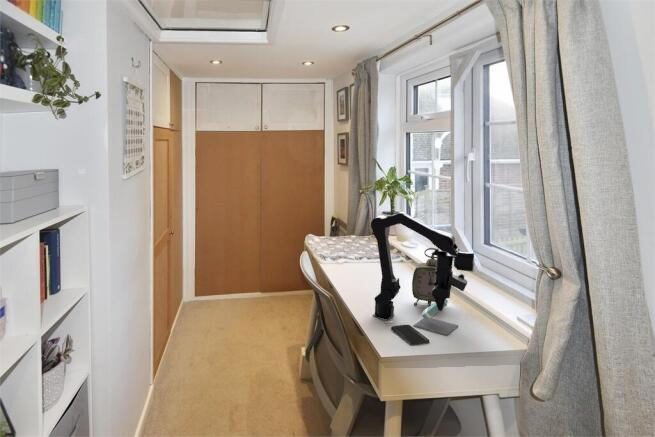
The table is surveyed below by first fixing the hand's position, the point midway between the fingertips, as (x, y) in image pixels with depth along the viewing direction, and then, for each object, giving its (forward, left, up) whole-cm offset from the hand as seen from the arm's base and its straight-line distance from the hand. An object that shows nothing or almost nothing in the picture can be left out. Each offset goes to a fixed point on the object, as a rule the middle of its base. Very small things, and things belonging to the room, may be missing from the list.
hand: (440, 308), depth 169 cm
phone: (-5, -15, -8) cm, 17 cm away
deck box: (-5, -2, -4) cm, 7 cm away
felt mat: (-1, -1, -7) cm, 7 cm away
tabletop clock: (-12, +18, -7) cm, 23 cm away
